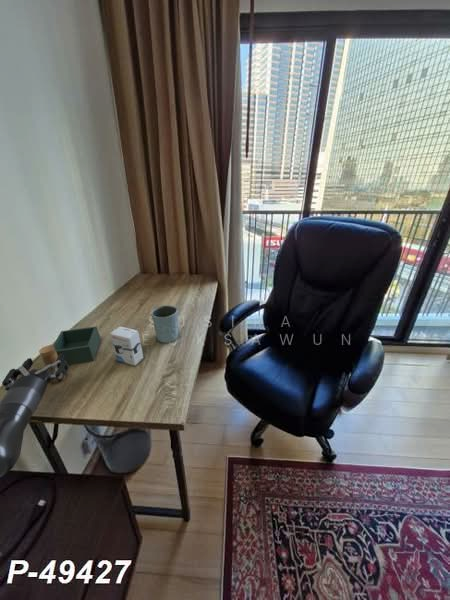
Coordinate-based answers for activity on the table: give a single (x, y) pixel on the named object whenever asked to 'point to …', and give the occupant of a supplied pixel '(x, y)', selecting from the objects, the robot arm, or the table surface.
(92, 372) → the table surface
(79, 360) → the bin
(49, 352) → the wooden cylinder
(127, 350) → the ink box
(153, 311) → the blue grey cup
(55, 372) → the robot arm
